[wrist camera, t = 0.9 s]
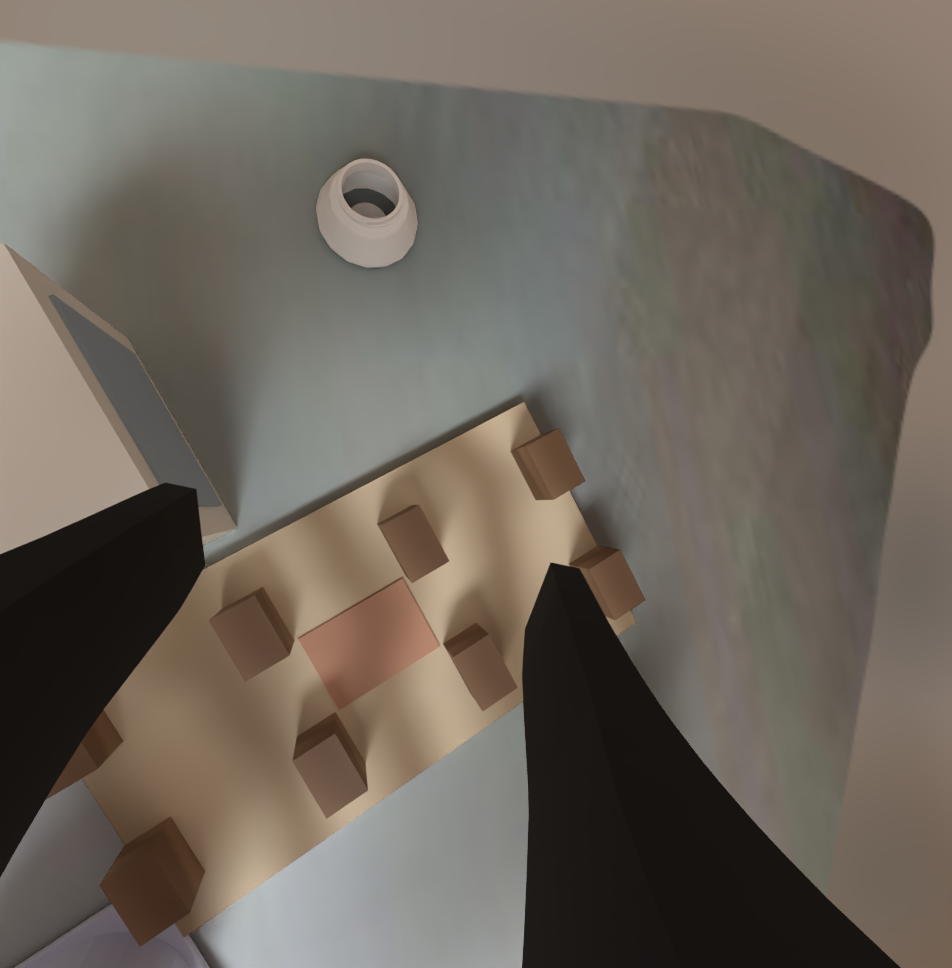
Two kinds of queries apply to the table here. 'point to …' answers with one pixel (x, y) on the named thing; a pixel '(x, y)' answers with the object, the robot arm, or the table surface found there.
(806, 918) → the robot arm
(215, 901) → the notch rack
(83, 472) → the tall beige pillar block
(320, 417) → the table surface
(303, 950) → the table surface
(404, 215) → the lidless jar
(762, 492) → the table surface
